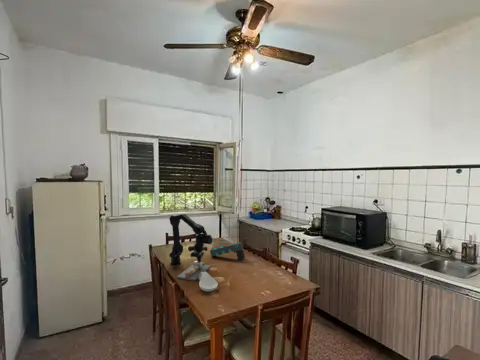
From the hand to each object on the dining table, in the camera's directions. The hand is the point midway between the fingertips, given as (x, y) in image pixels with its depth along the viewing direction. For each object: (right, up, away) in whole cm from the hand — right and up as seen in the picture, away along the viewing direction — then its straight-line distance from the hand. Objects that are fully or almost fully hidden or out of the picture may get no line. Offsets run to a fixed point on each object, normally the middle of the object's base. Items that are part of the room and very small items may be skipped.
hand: (199, 262), depth 201 cm
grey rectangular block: (-1, -3, -2) cm, 4 cm away
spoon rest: (+9, -6, -30) cm, 32 cm away
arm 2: (-2, -3, -9) cm, 10 cm away
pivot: (+1, -3, +4) cm, 5 cm away
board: (-2, -5, -7) cm, 9 cm away
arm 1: (-3, -3, -9) cm, 10 cm away
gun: (+20, -5, +27) cm, 34 cm away
